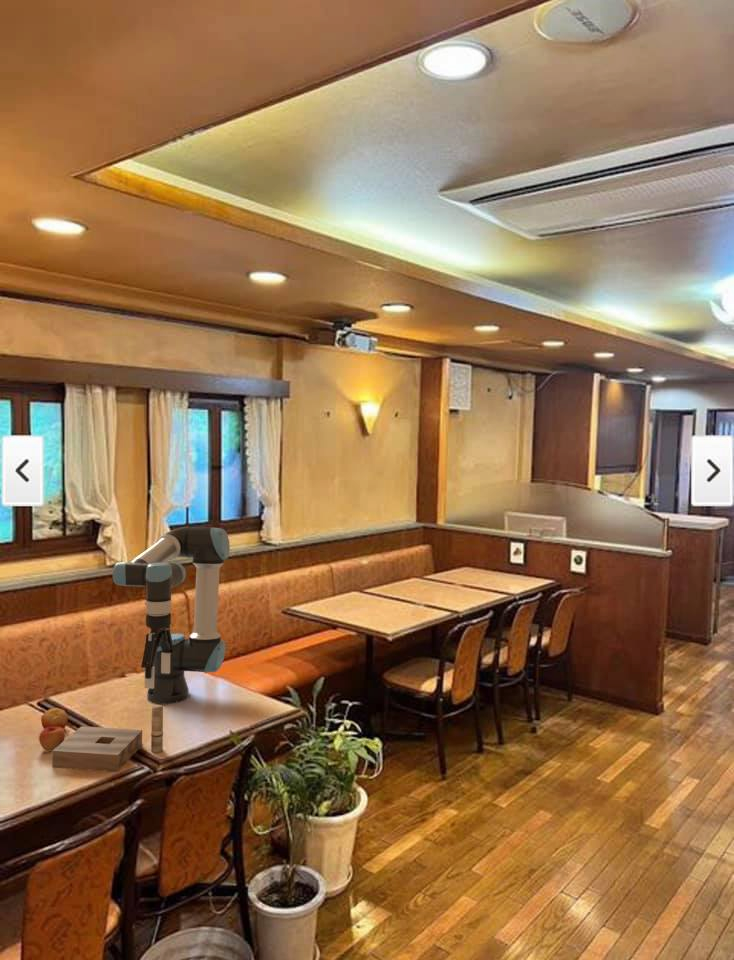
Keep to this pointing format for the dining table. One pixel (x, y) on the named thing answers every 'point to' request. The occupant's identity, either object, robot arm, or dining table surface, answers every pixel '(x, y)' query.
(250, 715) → the dining table surface
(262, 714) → the dining table surface
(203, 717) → the dining table surface
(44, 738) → the apple
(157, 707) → the peg
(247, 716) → the dining table surface
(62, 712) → the fruit
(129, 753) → the board
